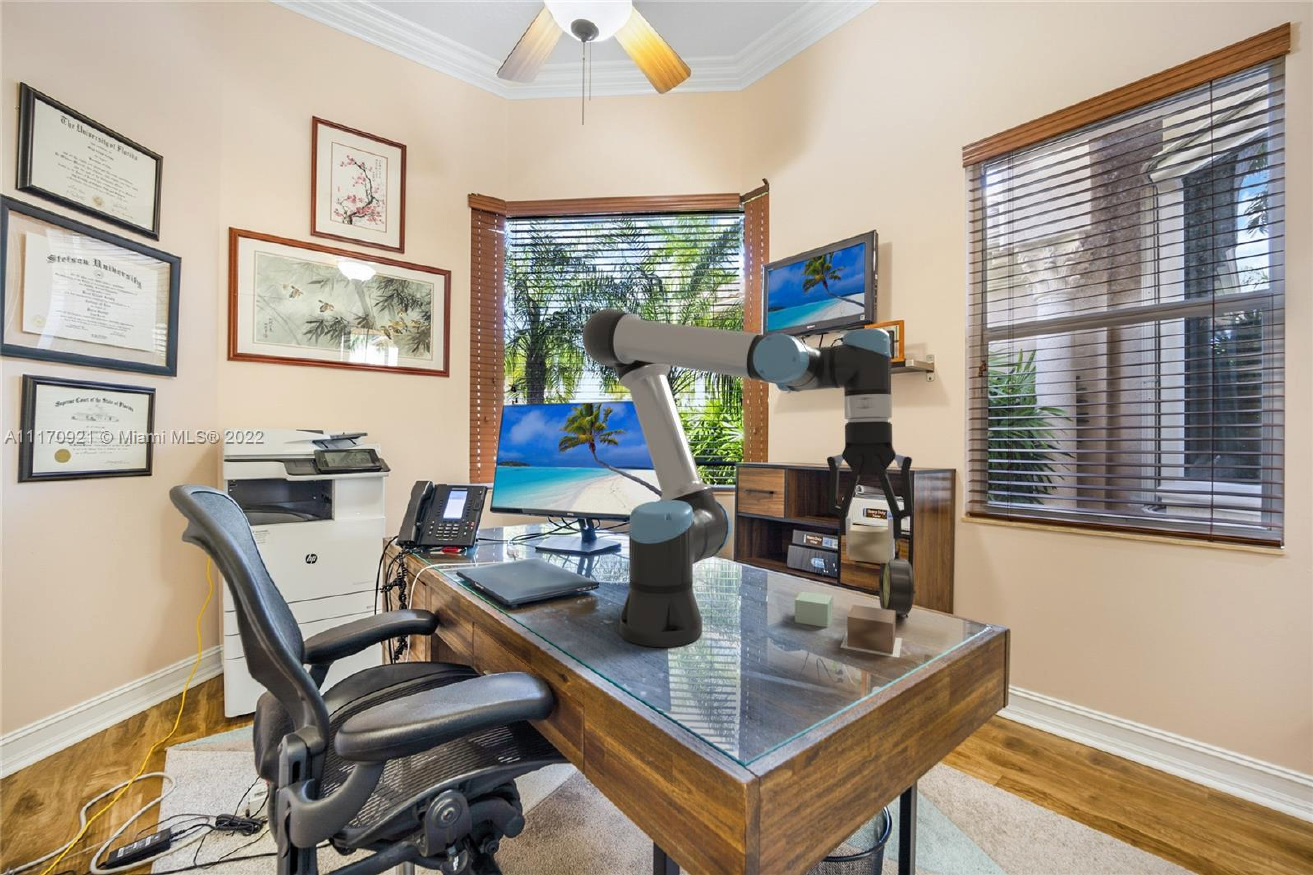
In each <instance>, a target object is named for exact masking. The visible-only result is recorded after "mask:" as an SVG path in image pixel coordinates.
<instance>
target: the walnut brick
mask: <svg viewBox="0 0 1313 875" xmlns="http://www.w3.org/2000/svg"><path fill="white" fill-rule="evenodd" d="M895 621H896V611H894V610H887V609H881V607H878V608H877V607H871V606H864V605H859V604H858V605H857V604H853V605H852V606H851V607H850V610H849V612H848V615H847V630H846V633H847V646H850V647H855V648H861V649H867V650H872V651H878V652H884V653H889V654H893V650H894V644H895V637H896V623H895Z"/></svg>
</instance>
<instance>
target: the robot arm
mask: <svg viewBox="0 0 1313 875" xmlns="http://www.w3.org/2000/svg"><path fill="white" fill-rule="evenodd" d="M581 337H582V344H583V347H584V349H585V351H586V353H587V354H588V356H589V357H590V358H591V359H592V360H593V361H595V362H596V363H598V364H600V365H603V366H607V367H611V368H614V369H615V372H616V375H617V378H618V382H619V384H620V386H621V387H623V388H626V389H628V390H629V393H630V397H631V400H632V402H633V406H634V409H635V412H636V416H637V418H638V422H639V425H640V427H641V431H642V434H643V435H642V436H643V437H644V440H645V444H646V447H647V449H648V453H649V456H650V459H651V462H652V467H653V468H654V472H655V476H656V478H657V481H658V485H659V488H660V491H661V497H660V499H659V500H657V501H648V502H645V503H641V504H639V505H637V506H636V507H634V508H633V509H632V511H631V513H630V515H629V526H628V531H627V532H628V538H629V540H628V546H629V548H628V552H629V553H628V555H629V556H628V558H629V561H628V562H629V563H628V564H629V566H628V567H629V568H628V570H629V571H628V572H629V574H628V575H629V580H628V582H629V584H628V587H629V588H628V592H627V596H626V599H625V602H624V605H623V609H622V611H621V615H620V617H619V635H620V636H621V637H622V639H624V640H626V641H628V642H630V643H632V644H636V645H639V646H644V647H651V648H670V647H680V646H684V645H687V644H688V645H689V644H691V643H693V642H695V641H697V640H698V639H699V638H701V637H702V635H703V619H702V616H701V613H700V612H701V611H700V610H699V606H698V602H697V600H696V597H695V596H696V595H695V594H694V590H693V589H694V588H693V587H694V586H693V583H694V581H693V576H694V575H693V573H694V570H693V569H694V568H693V565H694V564H696V563H698V562H700V561H703V560H706V559H709V558H712V557H714V556H716V555H717V554H718V553H719V552H721V551H722V550H723V549H724V548H725V547H726V546H727V545H728V543H729V540H730V539H731V535H732V531H733V524H732V518H731V516H730V513H729V511H728V509H727V508H726V507H725V506H724V505H723V504H721V503H720V502H719V501H717V500H716V498H715V495H714V494H715V493H714V492H713V489H712V486H710V485H709V484H706V483H705V482H703V481H702V480H701V476H700V473H699V470H698V467H697V463H696V461H695V458H694V455H693V451H692V449H691V446H690V443H689V440H688V438H687V435H686V432H685V429H684V426H683V422H682V420H681V416H680V414H679V410H678V408H677V405H676V401H675V398H674V396H673V392H672V389H671V386H670V384H669V380H668V375H669V373H670V371H671V367H678V368H682V369H690V370H693V371H694V370H696V371H701V372H707V373H714V374H719V375H727V376H731V377H738V378H745V379H751V380H754V381H761V382H767V383H772V384H774V385H776V387H777V389H778V390H780V391H782V392H796V393H799V392H801V391H802V392H803V391H812V390H814V391H815V390H827V389H842V388H843V390H844V393H843V394H844V419H845V420H848V421H847V422H846V424H844V449H843V451H842V453H840V454H838V455H832V456H828V457H827V459H826V462H827V465H828V468H829V481H828V502H827V511H828V512H829V514H834V515H836V516H838V518H839V519H838V521H839V522H838V523H839V525H838V526H839V528H838V529H839V534H840V536H845V550H846V552H845V556H847V557H849V530H850V529H851V528H852V527H853V525H854V523H853V515H848V514H849V511H850V508H851V504H852V502H853V498H854V494H856V493H855V492H856V489H857V486H858V483H859V480H860V477H861V476H867V475H870V476H874V477H876V476H877V478H878V480H879V482H880V486H881V488H882V492H883V494H884V497H885V499H886V503H887V505H888V508H889V512H890V514H891V516H892V517H889V518H888V520H887V527H888V539H889V559H891V560H894V557H895V543H894V539H896V540H897V539H899V540H901V537H902V535H903V533H902V520H903V519H904V518H909V517H912V515H913V514H914V508H913V496H912V486H911V472H910V469H911V466H912V463H913V457H911V456H909V455H907V456H905V455H902V454H898V453H896V450H895V449H894V446H893V423H891V421H889V419H891V418H892V416H893V402H892V401H893V400H892V355H891V340H890V334H889V332H887V331H886V330H884V329H881V328H872V327H871V328H861V329H855V330H851V331H847V332H846V333H845V334H844V335H843V339H842V343H841V344H837V345H831V346H821V347H819V346H818V347H813V346H811V345H809V344H807V343H805V342H803V341H801V340H800V339H799V338H797V337H796V336H793V335H790V334H787V333H786V334H785V333H772V334H761V333H755V332H747V331H746V332H745V331H738V330H730V329H723V328H722V329H721V328H713V327H703V326H695V325H686V324H678V323H670V322H662V321H654V320H650V319H648V318H644V317H640V316H639V315H638V314H636V313H631V312H624V311H622V310H619V309H616V308H605V309H601V310H599V311H598V310H597V311H596V312H594V313H593V314H592V315H591V316H590V317H588V319H587V321H586V322H585V324H584V327H583V330H582V336H581ZM843 460H844V462H846V465H848V467H849V468H850V470H851V472H850V474H849V480H848V482H847V486H846V489H845V492H844V495H843V499H842V502H841V505H840V506H838V502H839V487H840V486H839V481H840V468H841V467H842V466H843ZM893 461H896V465H897V467H898V468H899V469H900V479H901V491H902V500H903V509H900V507H899V504H898V501H897V499H896V495H895V493H894V490H893V486H892V484H891V481H890V479H889V475H888V472H887V470H888V468H889V467H890V465H891V464H892V463H893Z"/></svg>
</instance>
